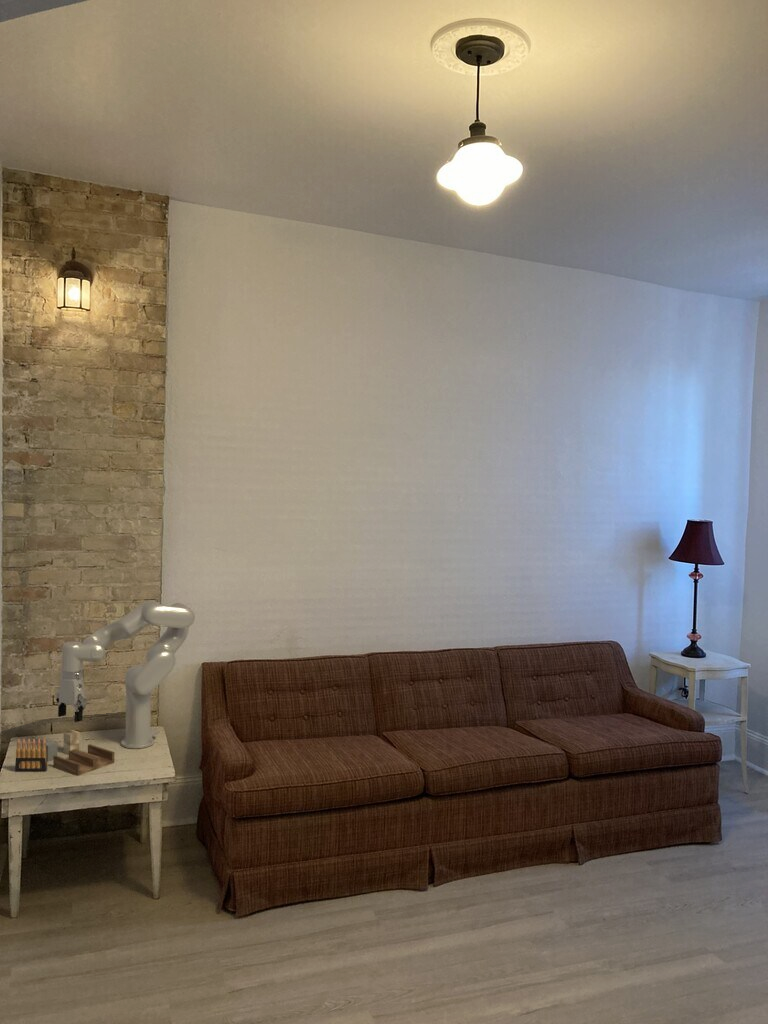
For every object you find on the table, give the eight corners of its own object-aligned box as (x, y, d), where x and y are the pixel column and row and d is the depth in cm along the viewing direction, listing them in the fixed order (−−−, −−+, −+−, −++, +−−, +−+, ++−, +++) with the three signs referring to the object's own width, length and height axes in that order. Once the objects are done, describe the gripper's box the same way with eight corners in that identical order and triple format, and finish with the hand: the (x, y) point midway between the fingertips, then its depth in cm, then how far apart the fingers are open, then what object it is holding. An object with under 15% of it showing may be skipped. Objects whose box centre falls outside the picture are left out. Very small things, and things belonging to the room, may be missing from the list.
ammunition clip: (14, 771, 295) (15, 739, 294) (16, 770, 296) (16, 737, 296) (45, 771, 296) (46, 739, 295) (47, 769, 298) (47, 737, 297)
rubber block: (50, 756, 311) (50, 740, 310) (57, 758, 309) (57, 743, 308) (41, 759, 307) (41, 743, 307) (47, 761, 305) (48, 745, 305)
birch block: (72, 750, 318) (72, 730, 317) (79, 752, 316) (79, 732, 315) (63, 753, 315) (63, 732, 314) (70, 755, 312) (70, 734, 312)
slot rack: (89, 754, 314) (89, 744, 314) (114, 762, 307) (114, 752, 306) (53, 766, 300) (53, 756, 300) (78, 775, 293) (78, 764, 293)
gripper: (94, 676, 312) (93, 721, 313) (65, 668, 321) (64, 711, 322) (78, 680, 305) (76, 725, 306) (48, 672, 315) (47, 716, 315)
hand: (70, 718), depth 314 cm, fingers open, 9 cm apart
